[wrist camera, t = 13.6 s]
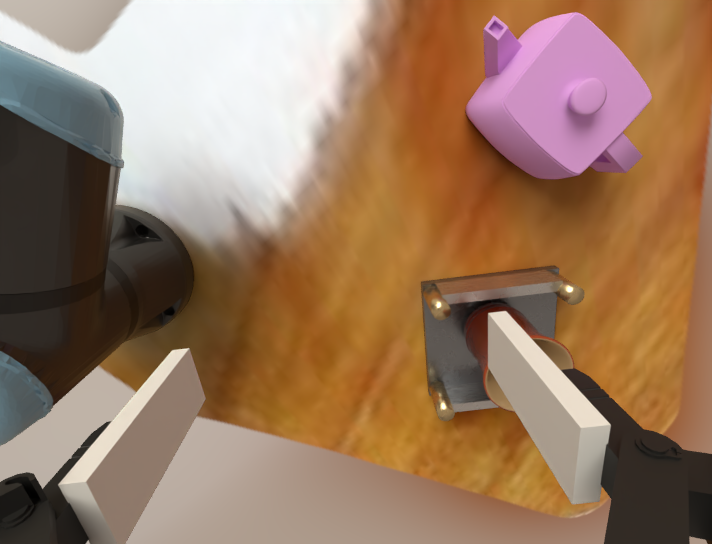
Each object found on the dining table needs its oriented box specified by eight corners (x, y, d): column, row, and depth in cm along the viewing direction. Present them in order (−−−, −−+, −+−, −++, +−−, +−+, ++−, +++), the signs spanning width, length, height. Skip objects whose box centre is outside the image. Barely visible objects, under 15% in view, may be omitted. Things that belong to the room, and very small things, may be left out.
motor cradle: (428, 390, 49) (438, 423, 43) (420, 281, 44) (431, 302, 38) (546, 377, 49) (572, 408, 43) (554, 265, 43) (585, 284, 37)
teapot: (427, 90, 37) (454, 72, 27) (501, -8, 34) (562, -67, 24) (546, 200, 41) (607, 219, 31) (621, 120, 38) (714, 113, 28)
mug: (442, 315, 44) (468, 364, 34) (508, 280, 43) (555, 320, 33) (484, 385, 48) (518, 447, 38) (546, 354, 46) (598, 410, 36)
